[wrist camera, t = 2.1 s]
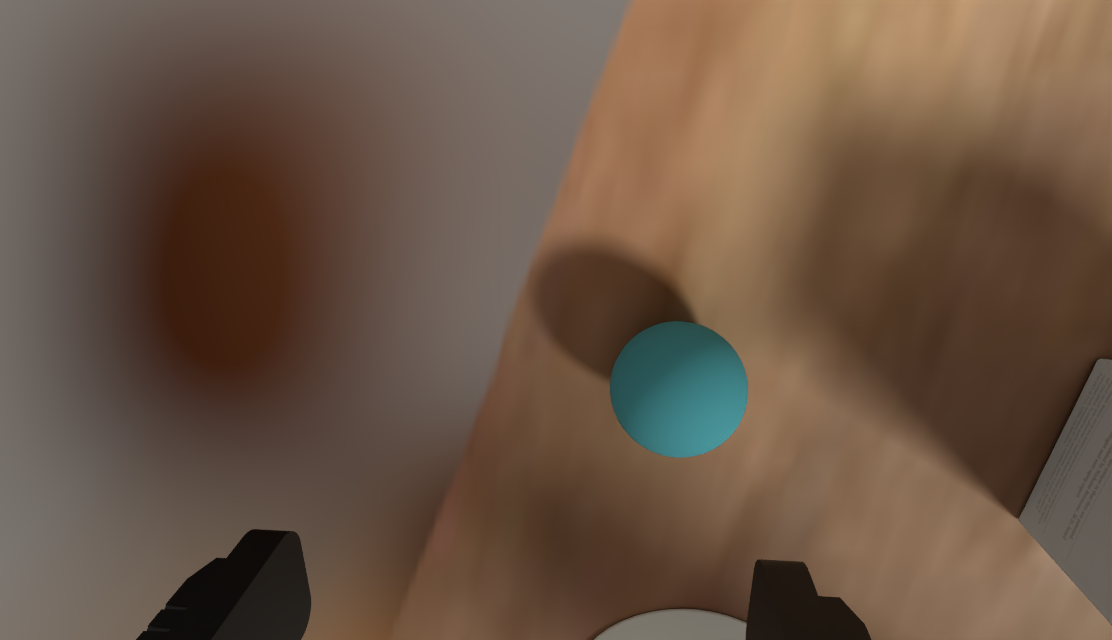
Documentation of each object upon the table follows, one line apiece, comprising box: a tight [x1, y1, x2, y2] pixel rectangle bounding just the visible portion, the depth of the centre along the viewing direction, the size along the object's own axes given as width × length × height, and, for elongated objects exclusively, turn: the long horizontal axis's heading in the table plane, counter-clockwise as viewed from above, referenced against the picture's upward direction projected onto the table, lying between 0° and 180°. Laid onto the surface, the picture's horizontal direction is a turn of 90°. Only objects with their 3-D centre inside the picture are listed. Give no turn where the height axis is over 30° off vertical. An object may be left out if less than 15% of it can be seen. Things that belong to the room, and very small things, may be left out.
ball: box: [610, 321, 748, 457], centre depth 27 cm, size 6×6×6 cm
